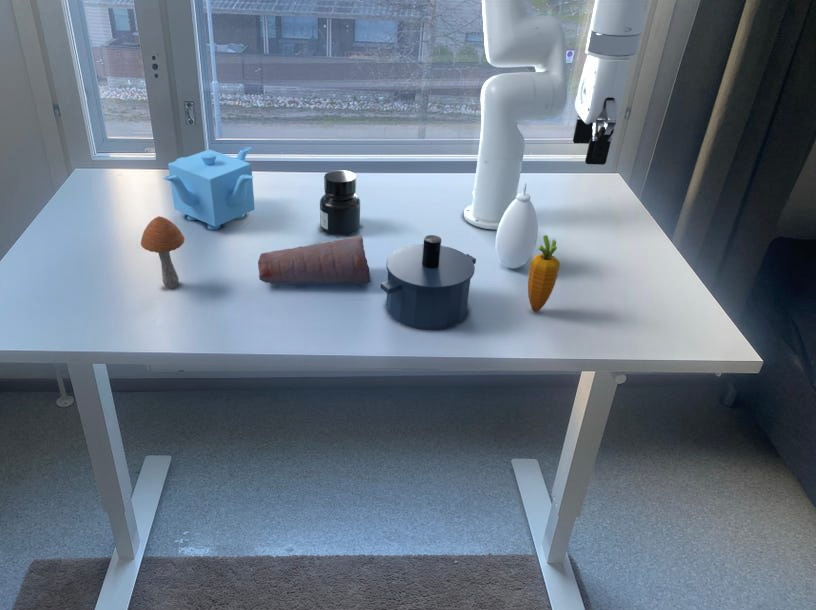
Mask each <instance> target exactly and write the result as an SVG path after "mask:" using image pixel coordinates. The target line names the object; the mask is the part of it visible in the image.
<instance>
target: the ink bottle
mask: <svg viewBox="0 0 816 610" xmlns="http://www.w3.org/2000/svg"><path fill="white" fill-rule="evenodd" d="M323 180H324V181H323V189H324V194H323V195H322V196H321V198H320V200H319V228H320V229H321V231H322V232H324V233H326V234H329V235H334V236H349V235H352V234H354V233H356V232H358V230H359V229H360V227H361V199H360V197H359V196H358V195H357V194H356V190H357V175H356V173H354V172H352V171H350V170H342V169H337V170H332V171H327V172H326V173H325V174H324V176H323Z"/></svg>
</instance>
